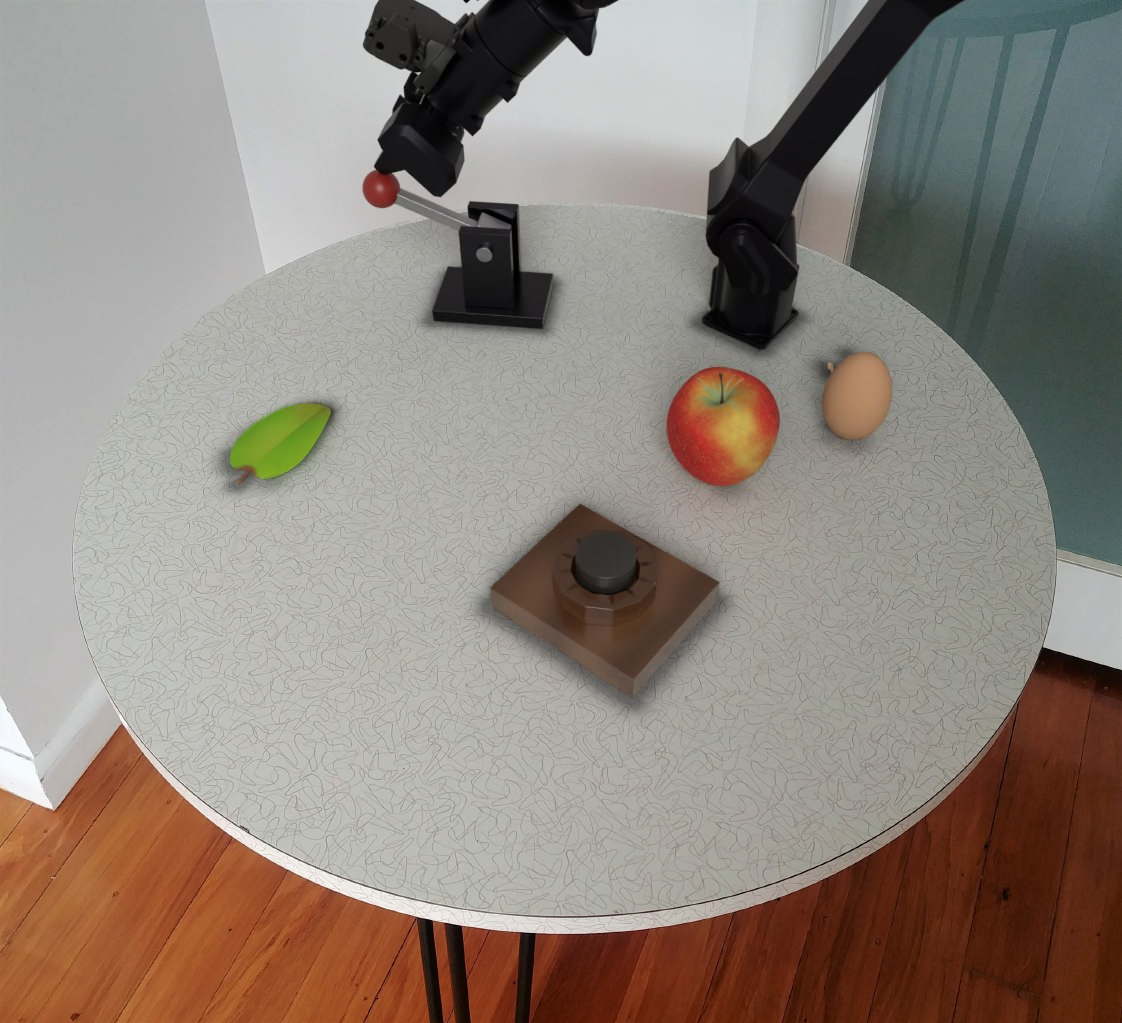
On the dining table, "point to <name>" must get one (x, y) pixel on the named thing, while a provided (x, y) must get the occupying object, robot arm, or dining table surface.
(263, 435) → the decorative leaf
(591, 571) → the button
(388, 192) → the switch
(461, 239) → the bracket
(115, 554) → the dining table surface
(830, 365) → the nutmeg
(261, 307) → the dining table surface
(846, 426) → the egg
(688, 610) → the button block
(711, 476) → the apple
